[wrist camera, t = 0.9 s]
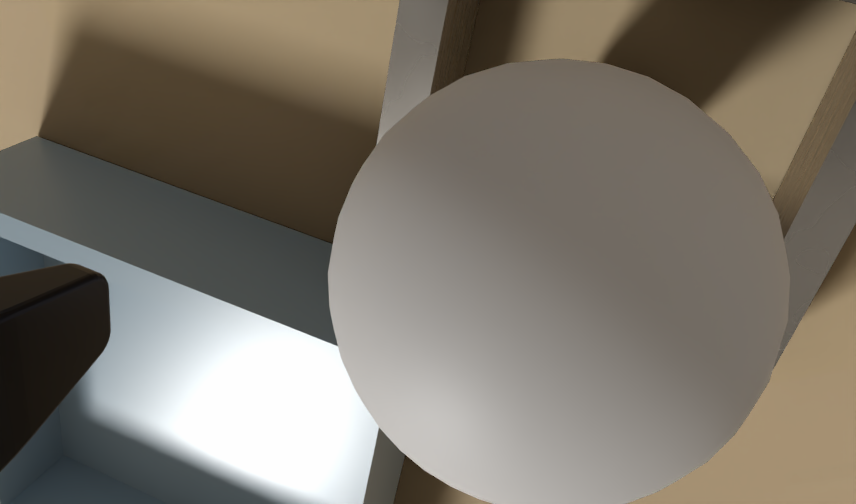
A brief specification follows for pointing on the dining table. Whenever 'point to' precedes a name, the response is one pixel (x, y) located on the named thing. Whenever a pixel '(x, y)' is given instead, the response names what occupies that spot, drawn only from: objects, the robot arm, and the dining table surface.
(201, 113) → the dining table surface
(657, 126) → the lightbulb
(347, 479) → the parts tray
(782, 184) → the socket collar
